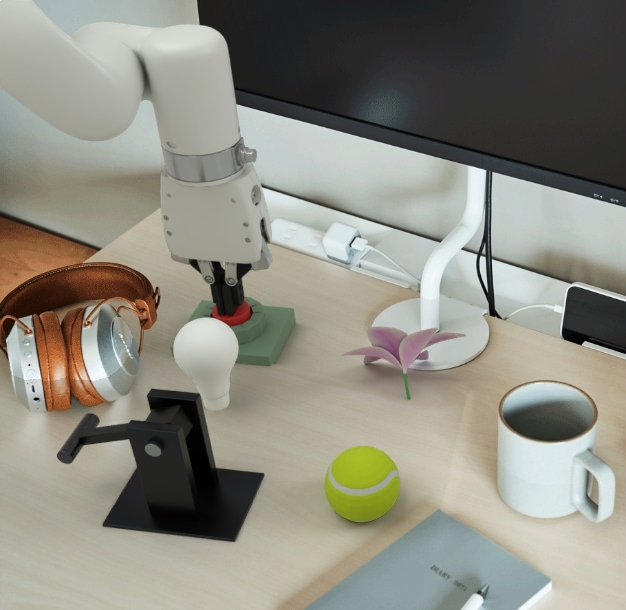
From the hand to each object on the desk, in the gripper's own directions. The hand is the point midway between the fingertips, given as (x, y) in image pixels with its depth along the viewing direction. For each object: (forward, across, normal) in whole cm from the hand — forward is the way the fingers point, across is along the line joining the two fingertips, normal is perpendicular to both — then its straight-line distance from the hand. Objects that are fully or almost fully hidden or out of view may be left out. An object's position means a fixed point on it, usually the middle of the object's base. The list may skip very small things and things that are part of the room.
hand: (230, 308), depth 101 cm
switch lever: (-3, 0, +24) cm, 24 cm away
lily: (+5, -20, +4) cm, 21 cm away
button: (+2, 0, 0) cm, 2 cm away
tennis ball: (+5, -20, +22) cm, 30 cm away
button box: (+5, 0, 0) cm, 5 cm away
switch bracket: (+5, -4, +24) cm, 25 cm away
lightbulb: (+5, -2, +11) cm, 12 cm away
